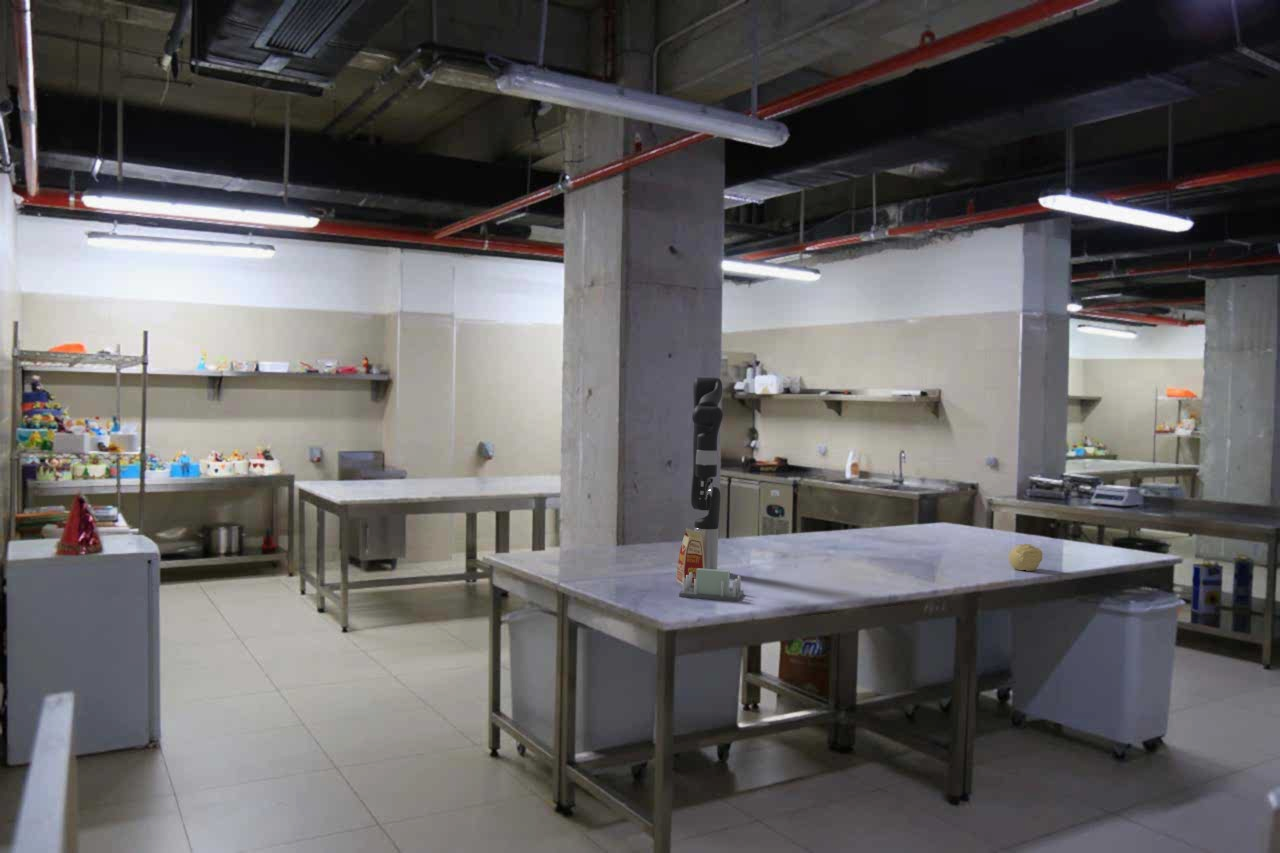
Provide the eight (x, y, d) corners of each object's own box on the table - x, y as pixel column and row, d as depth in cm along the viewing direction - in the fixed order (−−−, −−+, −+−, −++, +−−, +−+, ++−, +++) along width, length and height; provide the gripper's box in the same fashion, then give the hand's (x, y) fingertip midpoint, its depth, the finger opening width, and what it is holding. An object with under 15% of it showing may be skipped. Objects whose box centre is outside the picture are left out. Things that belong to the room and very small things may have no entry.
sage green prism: (697, 591, 306) (697, 568, 306) (729, 594, 303) (729, 570, 303) (695, 593, 303) (695, 569, 303) (727, 595, 300) (728, 571, 300)
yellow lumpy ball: (1023, 573, 362) (1024, 546, 362) (1002, 567, 374) (1003, 542, 373) (1046, 572, 366) (1047, 545, 366) (1025, 566, 377) (1026, 541, 377)
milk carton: (683, 585, 321) (684, 530, 321) (675, 580, 330) (676, 526, 330) (707, 584, 324) (708, 529, 324) (698, 579, 333) (700, 526, 332)
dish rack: (686, 589, 314) (686, 572, 314) (743, 594, 309) (743, 576, 309) (679, 596, 303) (679, 578, 303) (738, 601, 298) (738, 582, 297)
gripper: (699, 461, 325) (698, 506, 325) (691, 463, 311) (690, 510, 311) (720, 462, 323) (719, 507, 323) (713, 464, 309) (712, 511, 309)
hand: (705, 508), depth 317 cm, fingers open, 8 cm apart
